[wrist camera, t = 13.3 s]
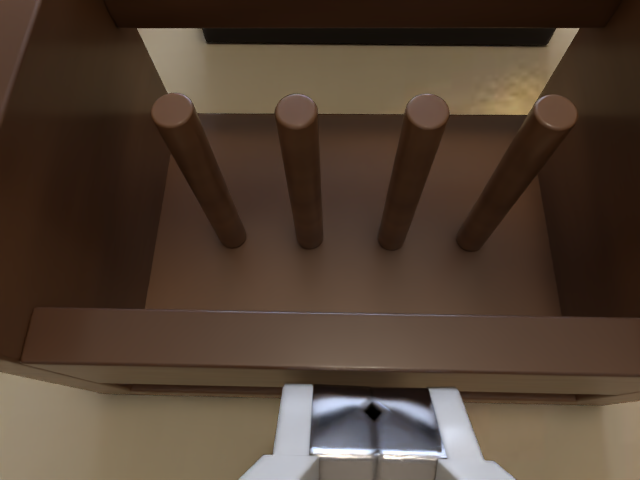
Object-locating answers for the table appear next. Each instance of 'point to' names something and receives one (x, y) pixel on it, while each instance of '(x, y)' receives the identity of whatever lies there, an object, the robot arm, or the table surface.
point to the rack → (317, 215)
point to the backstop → (383, 35)
